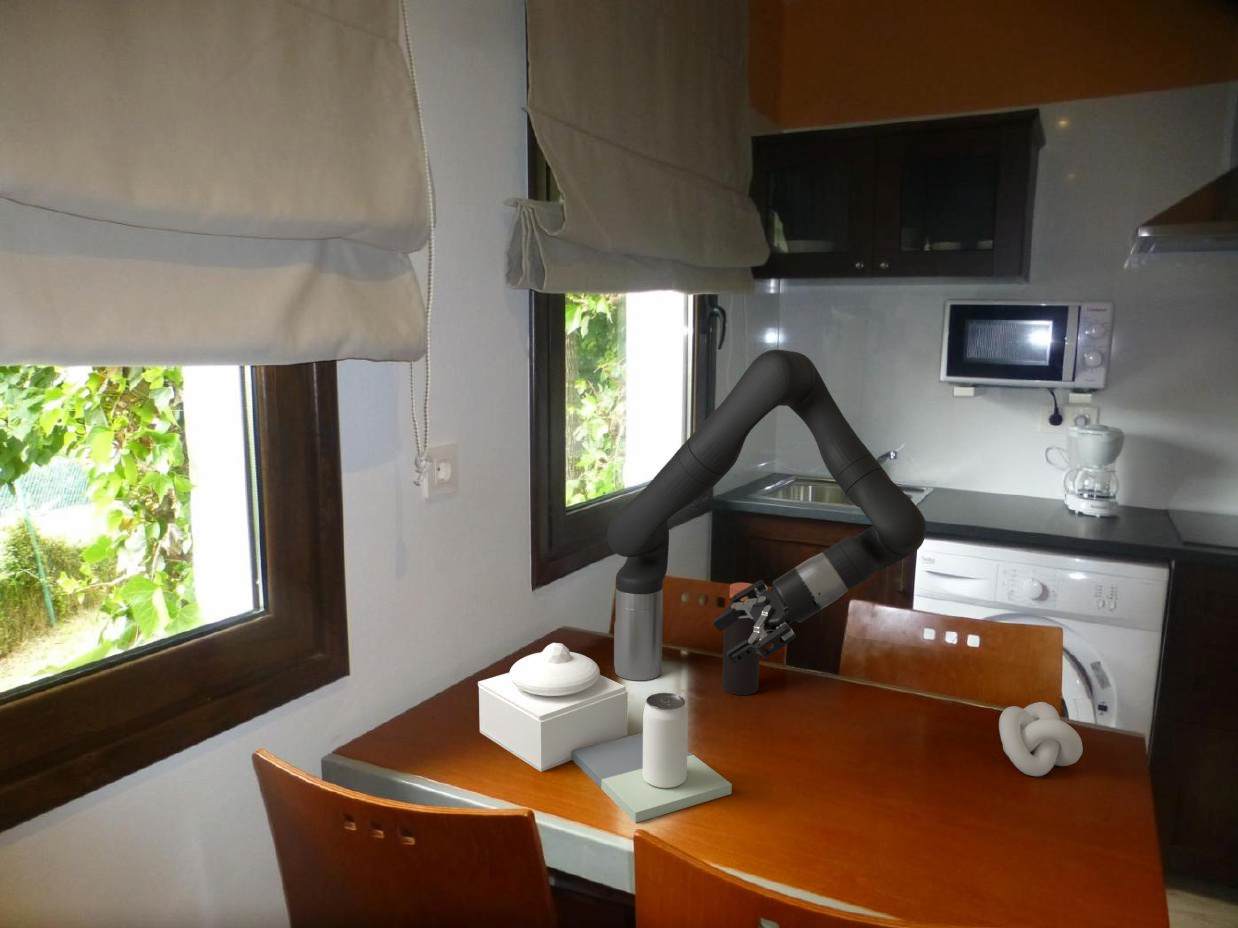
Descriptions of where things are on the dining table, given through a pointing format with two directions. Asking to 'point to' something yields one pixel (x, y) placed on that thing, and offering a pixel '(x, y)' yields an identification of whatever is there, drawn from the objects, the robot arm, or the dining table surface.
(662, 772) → the can
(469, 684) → the dining table surface
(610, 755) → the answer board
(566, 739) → the white lidded box
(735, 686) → the bottle
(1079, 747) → the white decorative knot
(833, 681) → the dining table surface
